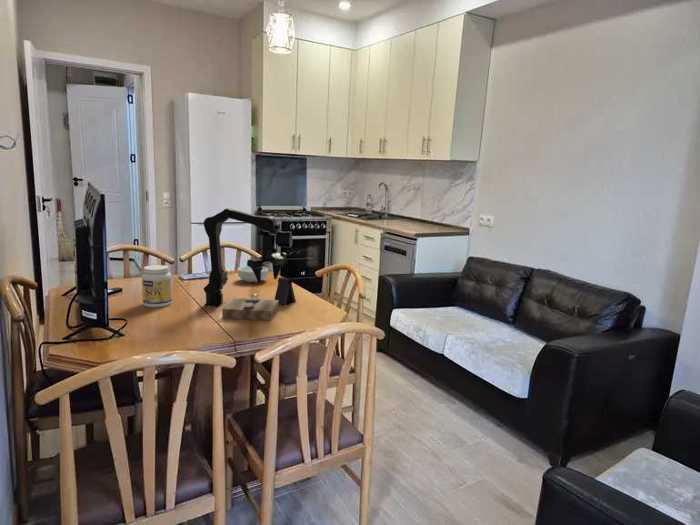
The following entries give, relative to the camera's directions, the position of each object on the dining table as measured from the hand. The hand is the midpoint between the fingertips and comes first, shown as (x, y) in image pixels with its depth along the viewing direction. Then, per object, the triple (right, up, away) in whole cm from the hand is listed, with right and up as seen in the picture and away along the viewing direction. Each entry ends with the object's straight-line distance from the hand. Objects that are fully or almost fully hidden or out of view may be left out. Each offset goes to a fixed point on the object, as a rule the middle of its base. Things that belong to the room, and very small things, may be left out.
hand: (267, 280), depth 203 cm
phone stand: (+6, -11, +11) cm, 17 cm away
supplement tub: (-49, -11, +2) cm, 51 cm away
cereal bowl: (-17, -3, +52) cm, 55 cm away
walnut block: (-6, -14, -6) cm, 16 cm away
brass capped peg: (-5, -10, -2) cm, 11 cm away
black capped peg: (-6, -12, -12) cm, 18 cm away
